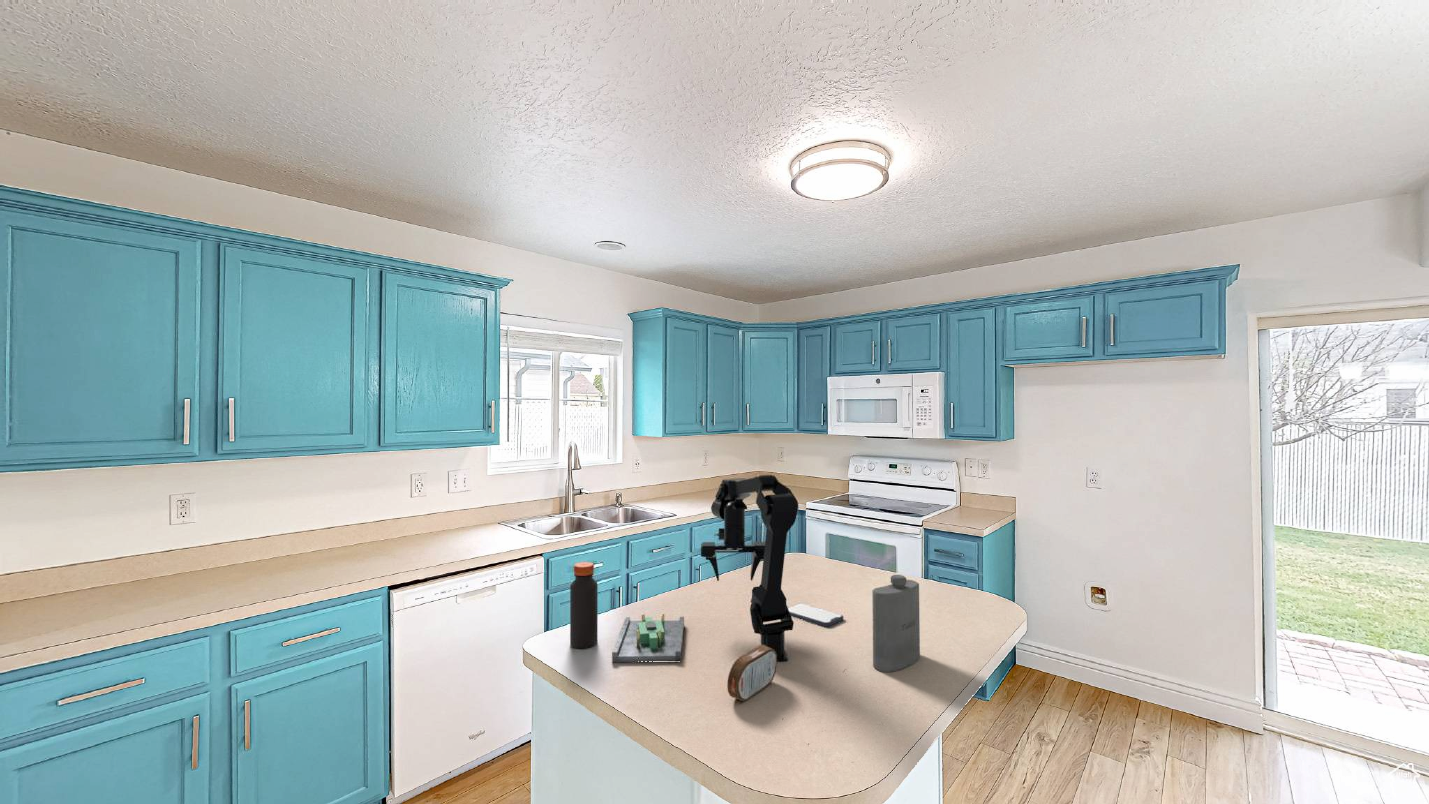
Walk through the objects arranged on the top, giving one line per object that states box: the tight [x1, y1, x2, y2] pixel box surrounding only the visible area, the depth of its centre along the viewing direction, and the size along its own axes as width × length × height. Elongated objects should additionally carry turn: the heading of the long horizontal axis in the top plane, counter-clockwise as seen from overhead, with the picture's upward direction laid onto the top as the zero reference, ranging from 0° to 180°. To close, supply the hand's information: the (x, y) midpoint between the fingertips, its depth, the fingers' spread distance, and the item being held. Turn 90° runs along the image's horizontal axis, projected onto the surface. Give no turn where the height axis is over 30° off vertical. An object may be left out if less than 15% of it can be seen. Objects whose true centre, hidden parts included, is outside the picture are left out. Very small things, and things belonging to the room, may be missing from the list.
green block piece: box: [638, 616, 665, 649], centre depth 140 cm, size 14×6×3 cm, turn 12°
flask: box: [871, 574, 921, 673], centre depth 129 cm, size 15×6×20 cm, turn 129°
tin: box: [726, 644, 778, 702], centre depth 116 cm, size 15×3×8 cm, turn 141°
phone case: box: [787, 603, 844, 628], centre depth 158 cm, size 9×2×16 cm
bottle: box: [569, 561, 599, 650], centre depth 140 cm, size 7×7×20 cm
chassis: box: [611, 613, 685, 664], centre depth 140 cm, size 22×16×5 cm
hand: (734, 580), depth 153 cm, fingers open, 9 cm apart
